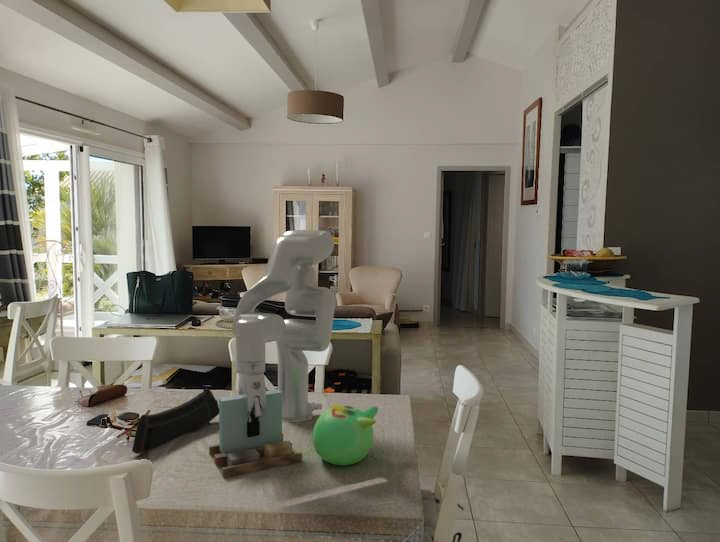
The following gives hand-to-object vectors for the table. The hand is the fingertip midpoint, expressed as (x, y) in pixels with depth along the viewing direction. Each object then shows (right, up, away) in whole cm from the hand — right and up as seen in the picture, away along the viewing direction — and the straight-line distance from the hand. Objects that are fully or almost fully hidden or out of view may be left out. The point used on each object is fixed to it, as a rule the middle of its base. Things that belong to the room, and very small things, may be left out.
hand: (251, 432), depth 139 cm
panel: (0, -4, 0) cm, 4 cm away
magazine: (-23, -5, +11) cm, 26 cm away
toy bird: (+25, -7, -2) cm, 26 cm away
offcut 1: (0, -6, -9) cm, 10 cm away
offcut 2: (+8, -5, -4) cm, 10 cm away
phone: (-46, -4, +22) cm, 51 cm away
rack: (+2, -6, -3) cm, 7 cm away
